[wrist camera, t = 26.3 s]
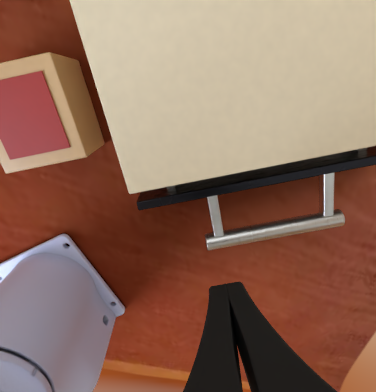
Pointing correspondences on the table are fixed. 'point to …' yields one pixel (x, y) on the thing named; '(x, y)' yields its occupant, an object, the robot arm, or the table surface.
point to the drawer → (260, 178)
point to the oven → (230, 83)
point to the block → (45, 113)
